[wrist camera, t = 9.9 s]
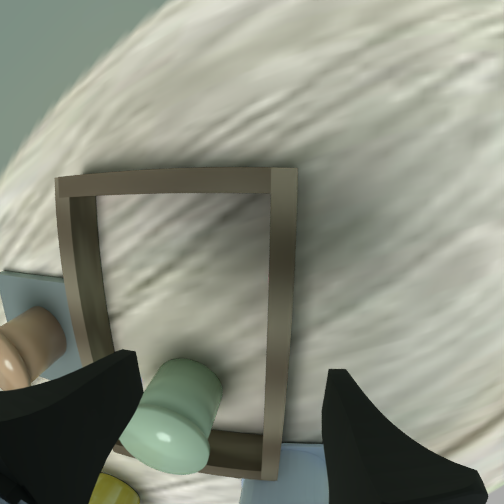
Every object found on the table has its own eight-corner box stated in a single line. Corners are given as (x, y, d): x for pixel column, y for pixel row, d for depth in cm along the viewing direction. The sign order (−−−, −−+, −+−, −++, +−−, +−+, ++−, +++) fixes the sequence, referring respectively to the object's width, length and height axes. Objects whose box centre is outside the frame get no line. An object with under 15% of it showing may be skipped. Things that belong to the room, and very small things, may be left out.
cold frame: (280, 445, 23) (277, 481, 19) (120, 420, 25) (102, 448, 21) (296, 169, 18) (297, 168, 14) (81, 175, 20) (44, 178, 16)
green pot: (229, 419, 23) (211, 481, 17) (157, 408, 24) (127, 462, 17) (226, 358, 22) (203, 420, 15) (147, 348, 22) (106, 400, 16)
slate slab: (104, 388, 24) (99, 395, 23) (27, 365, 25) (22, 369, 24) (81, 280, 22) (74, 284, 21) (3, 270, 23) (-4, 273, 22)
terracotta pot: (76, 368, 23) (35, 408, 17) (31, 352, 23) (-10, 384, 17) (63, 308, 21) (13, 342, 15) (18, 296, 22) (-30, 323, 16)
